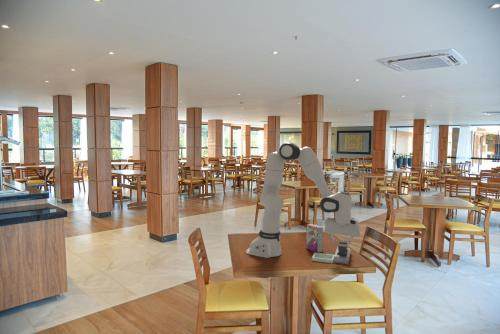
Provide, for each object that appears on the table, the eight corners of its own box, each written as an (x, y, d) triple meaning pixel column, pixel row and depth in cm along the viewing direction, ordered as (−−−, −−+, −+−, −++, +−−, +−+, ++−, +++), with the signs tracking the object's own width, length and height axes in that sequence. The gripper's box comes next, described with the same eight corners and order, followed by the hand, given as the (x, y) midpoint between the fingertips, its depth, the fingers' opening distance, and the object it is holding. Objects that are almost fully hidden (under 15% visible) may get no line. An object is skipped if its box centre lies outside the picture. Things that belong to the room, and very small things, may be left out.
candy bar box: (305, 248, 226) (306, 224, 225) (311, 247, 229) (311, 223, 228) (317, 253, 217) (317, 228, 216) (322, 252, 219) (323, 227, 218)
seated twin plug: (338, 255, 210) (338, 242, 209) (339, 252, 214) (339, 240, 214) (346, 255, 208) (347, 243, 208) (347, 253, 213) (347, 240, 212)
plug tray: (312, 261, 201) (312, 257, 201) (314, 256, 211) (314, 252, 211) (332, 264, 198) (333, 260, 197) (334, 258, 207) (334, 254, 207)
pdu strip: (334, 263, 199) (334, 255, 199) (337, 253, 218) (337, 245, 218) (348, 265, 196) (348, 257, 196) (350, 254, 216) (350, 247, 215)
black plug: (337, 259, 202) (338, 245, 202) (338, 256, 207) (338, 243, 206) (346, 260, 200) (346, 246, 200) (346, 257, 205) (347, 244, 204)
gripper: (324, 218, 202) (322, 241, 203) (360, 222, 196) (359, 246, 196) (325, 216, 208) (324, 238, 209) (360, 220, 201) (359, 243, 202)
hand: (341, 242), depth 203 cm, fingers open, 8 cm apart
